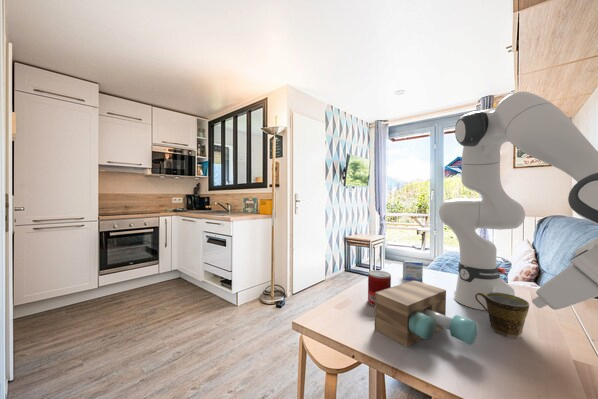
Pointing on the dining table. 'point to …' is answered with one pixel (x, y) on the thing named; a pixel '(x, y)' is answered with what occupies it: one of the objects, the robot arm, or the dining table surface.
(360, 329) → the dining table surface
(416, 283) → the block
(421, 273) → the medicine box
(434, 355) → the dining table surface
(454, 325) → the knob
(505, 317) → the ceramic cup
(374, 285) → the canned food
